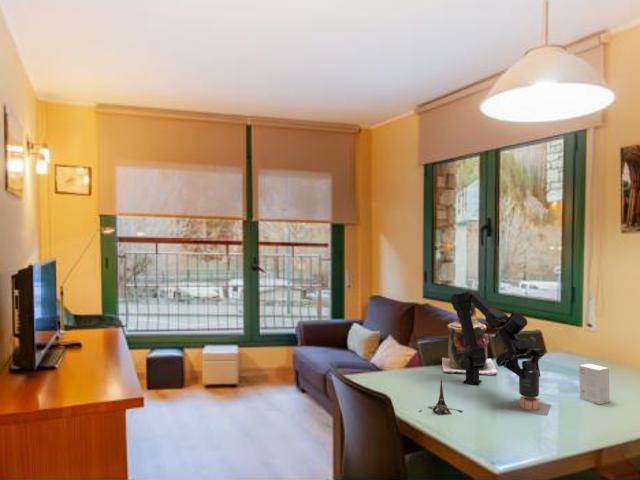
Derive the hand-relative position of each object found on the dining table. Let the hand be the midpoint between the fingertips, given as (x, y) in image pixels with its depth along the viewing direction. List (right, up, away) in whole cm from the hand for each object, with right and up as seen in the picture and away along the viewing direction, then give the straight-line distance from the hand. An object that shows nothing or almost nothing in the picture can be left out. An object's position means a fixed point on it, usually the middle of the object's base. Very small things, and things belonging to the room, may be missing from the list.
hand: (531, 377), depth 175 cm
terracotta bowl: (0, -11, +1) cm, 11 cm away
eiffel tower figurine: (-33, -13, -2) cm, 36 cm away
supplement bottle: (0, -7, +1) cm, 7 cm away
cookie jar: (-6, -12, +56) cm, 58 cm away
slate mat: (0, -11, +1) cm, 11 cm away
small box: (+28, -11, +9) cm, 31 cm away
